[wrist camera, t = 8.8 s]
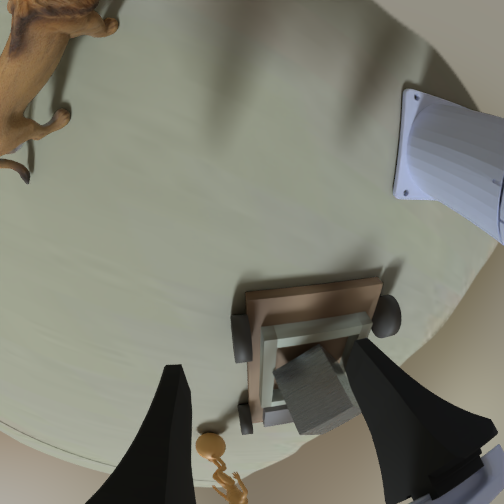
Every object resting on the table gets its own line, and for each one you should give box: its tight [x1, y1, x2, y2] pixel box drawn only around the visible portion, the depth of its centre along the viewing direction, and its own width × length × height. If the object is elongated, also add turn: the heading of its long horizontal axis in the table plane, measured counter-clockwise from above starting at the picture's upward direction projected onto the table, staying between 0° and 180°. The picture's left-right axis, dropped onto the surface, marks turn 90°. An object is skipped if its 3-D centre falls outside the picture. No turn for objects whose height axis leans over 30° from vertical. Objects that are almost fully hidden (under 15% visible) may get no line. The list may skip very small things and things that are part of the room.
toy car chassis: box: [231, 277, 401, 435], centre depth 25 cm, size 13×20×4 cm
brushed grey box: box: [272, 344, 362, 435], centre depth 21 cm, size 4×6×6 cm
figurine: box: [196, 433, 248, 504], centre depth 27 cm, size 8×6×12 cm
